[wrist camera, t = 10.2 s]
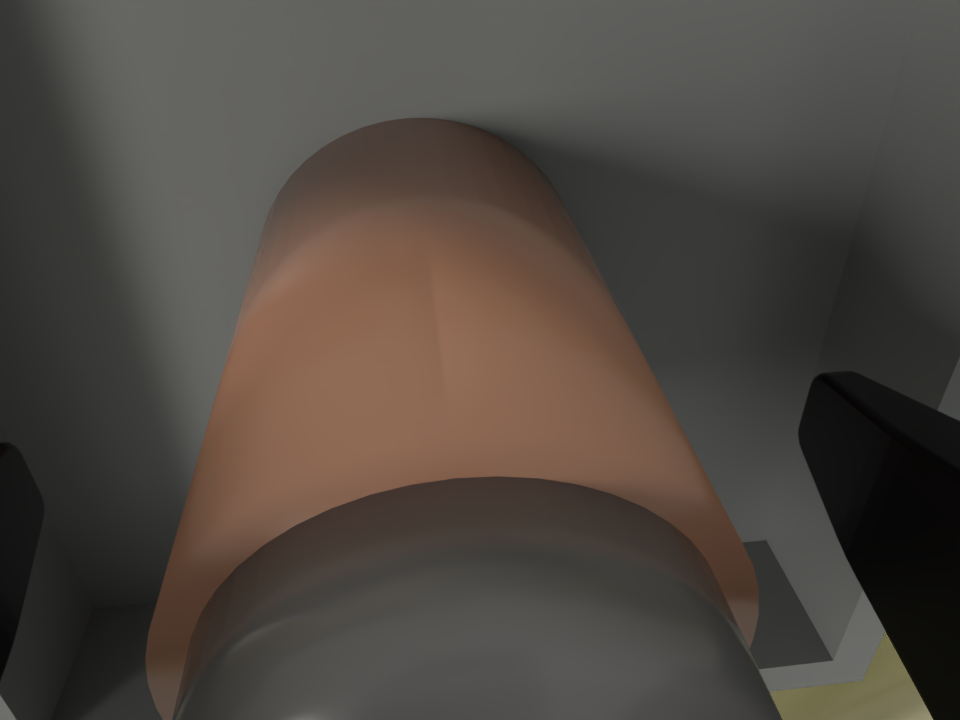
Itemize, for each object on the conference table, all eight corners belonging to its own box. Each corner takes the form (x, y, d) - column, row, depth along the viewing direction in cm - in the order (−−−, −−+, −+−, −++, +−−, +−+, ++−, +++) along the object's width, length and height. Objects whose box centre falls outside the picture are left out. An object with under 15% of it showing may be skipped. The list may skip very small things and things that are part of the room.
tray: (1073, -421, 9) (1437, -561, 6) (781, 540, 18) (862, 680, 15) (-463, -432, 7) (-1036, -619, 4) (74, 613, 16) (8, 782, 13)
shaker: (584, 108, 11) (969, 593, 4) (567, 388, 14) (770, 956, 7) (228, 127, 10) (-69, 711, 3) (287, 412, 13) (192, 1046, 6)
